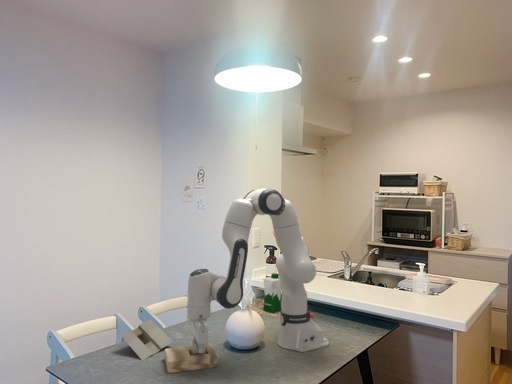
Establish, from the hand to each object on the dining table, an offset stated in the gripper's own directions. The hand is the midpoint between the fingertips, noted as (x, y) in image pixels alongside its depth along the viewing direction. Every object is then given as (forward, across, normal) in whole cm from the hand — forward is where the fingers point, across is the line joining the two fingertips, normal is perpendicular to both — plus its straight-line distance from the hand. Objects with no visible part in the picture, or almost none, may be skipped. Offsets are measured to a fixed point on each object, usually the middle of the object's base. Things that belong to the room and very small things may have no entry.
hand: (198, 347), depth 147 cm
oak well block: (+6, 0, +3) cm, 6 cm away
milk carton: (+6, +51, -50) cm, 72 cm away
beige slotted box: (+6, +17, +18) cm, 26 cm away
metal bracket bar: (+6, 0, 0) cm, 6 cm away
